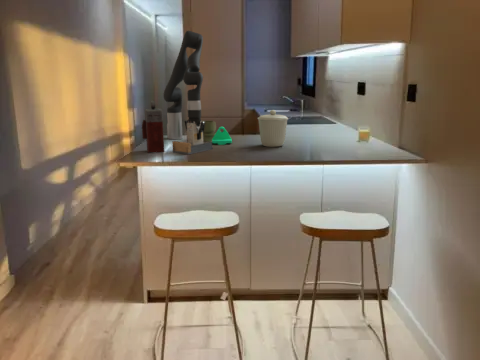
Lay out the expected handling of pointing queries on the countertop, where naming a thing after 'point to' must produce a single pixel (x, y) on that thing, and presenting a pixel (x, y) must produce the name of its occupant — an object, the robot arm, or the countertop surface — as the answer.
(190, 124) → the supplement box
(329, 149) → the countertop surface
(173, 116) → the robot arm
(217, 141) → the camera mount
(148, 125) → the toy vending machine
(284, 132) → the canister
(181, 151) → the rail
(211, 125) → the piston
